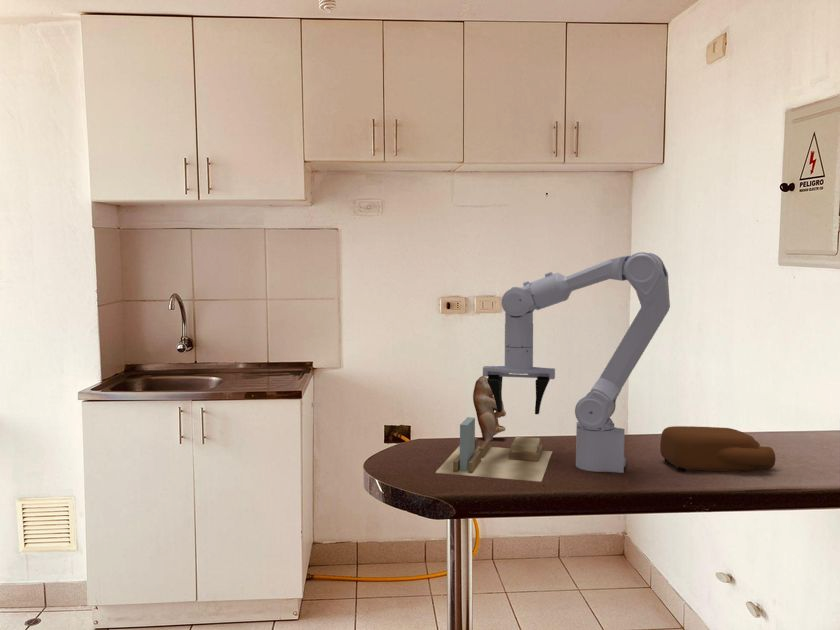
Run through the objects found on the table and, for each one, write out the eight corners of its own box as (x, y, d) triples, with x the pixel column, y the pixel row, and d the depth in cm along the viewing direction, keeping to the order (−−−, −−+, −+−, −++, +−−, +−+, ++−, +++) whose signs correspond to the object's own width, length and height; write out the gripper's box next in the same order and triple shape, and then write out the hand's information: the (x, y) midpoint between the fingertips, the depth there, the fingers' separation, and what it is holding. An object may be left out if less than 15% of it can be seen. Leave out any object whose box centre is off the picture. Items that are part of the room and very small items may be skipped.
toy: (742, 460, 153) (651, 457, 151) (745, 424, 152) (654, 421, 151) (781, 480, 138) (681, 477, 136) (785, 441, 138) (685, 438, 136)
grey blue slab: (474, 461, 143) (474, 417, 143) (467, 471, 136) (467, 425, 136) (467, 461, 144) (467, 417, 143) (459, 470, 137) (460, 424, 136)
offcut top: (539, 445, 151) (539, 438, 150) (536, 453, 144) (536, 446, 144) (516, 443, 152) (516, 436, 152) (511, 451, 145) (511, 444, 145)
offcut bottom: (542, 451, 151) (542, 444, 151) (538, 461, 143) (538, 454, 143) (514, 449, 153) (514, 442, 153) (508, 459, 145) (508, 452, 145)
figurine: (504, 446, 159) (505, 379, 159) (470, 444, 161) (471, 378, 160) (506, 439, 166) (507, 375, 165) (474, 438, 167) (474, 374, 166)
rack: (552, 456, 152) (552, 442, 151) (541, 486, 130) (541, 470, 130) (460, 449, 157) (460, 435, 157) (435, 477, 136) (435, 462, 136)
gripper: (556, 345, 147) (555, 410, 148) (486, 343, 151) (486, 406, 152) (553, 349, 140) (553, 417, 141) (481, 347, 144) (480, 413, 145)
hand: (518, 412), depth 146 cm, fingers open, 7 cm apart
